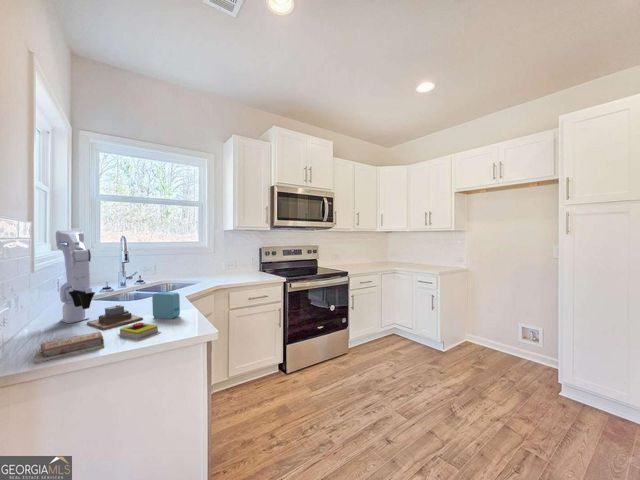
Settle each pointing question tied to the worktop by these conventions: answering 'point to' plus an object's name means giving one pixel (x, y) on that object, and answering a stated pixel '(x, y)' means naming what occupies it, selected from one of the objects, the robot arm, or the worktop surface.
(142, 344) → the worktop surface
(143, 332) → the emergency button
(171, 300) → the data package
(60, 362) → the worktop surface
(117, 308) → the servo block
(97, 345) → the packaged product
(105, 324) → the dock
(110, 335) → the worktop surface
